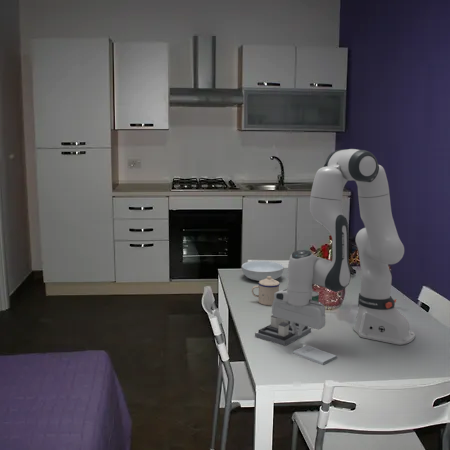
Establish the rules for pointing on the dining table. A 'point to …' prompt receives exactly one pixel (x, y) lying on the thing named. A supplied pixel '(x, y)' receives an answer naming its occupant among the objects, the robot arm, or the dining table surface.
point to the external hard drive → (314, 354)
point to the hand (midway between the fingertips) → (296, 334)
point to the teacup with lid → (267, 290)
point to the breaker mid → (275, 321)
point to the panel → (272, 336)
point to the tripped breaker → (283, 329)
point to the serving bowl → (262, 270)
